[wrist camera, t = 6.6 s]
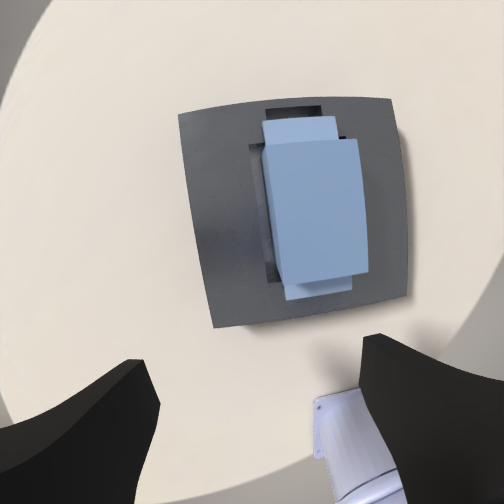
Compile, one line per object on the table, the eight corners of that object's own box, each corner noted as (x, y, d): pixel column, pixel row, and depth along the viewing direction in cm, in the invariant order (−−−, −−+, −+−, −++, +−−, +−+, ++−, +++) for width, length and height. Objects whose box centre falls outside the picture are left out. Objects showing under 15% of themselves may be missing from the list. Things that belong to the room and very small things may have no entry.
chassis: (389, 282, 18) (406, 295, 15) (217, 310, 18) (213, 328, 16) (373, 108, 15) (391, 98, 13) (187, 124, 15) (177, 114, 13)
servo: (337, 271, 17) (368, 301, 12) (276, 280, 17) (286, 316, 12) (322, 128, 15) (350, 106, 10) (256, 134, 15) (260, 111, 10)
